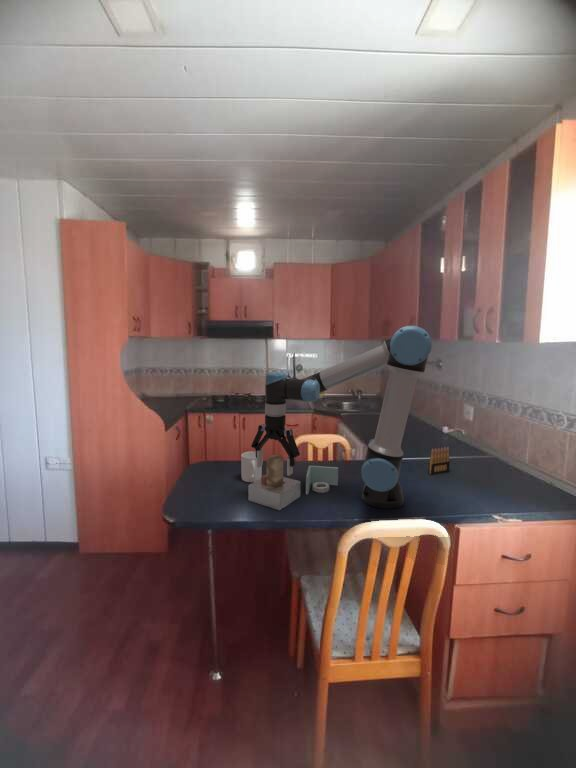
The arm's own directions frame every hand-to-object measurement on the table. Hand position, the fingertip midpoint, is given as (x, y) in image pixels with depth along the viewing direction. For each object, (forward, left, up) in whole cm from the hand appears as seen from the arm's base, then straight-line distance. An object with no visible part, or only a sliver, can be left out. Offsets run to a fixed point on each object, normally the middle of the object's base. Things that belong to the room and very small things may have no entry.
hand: (274, 470), depth 136 cm
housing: (0, 0, -11) cm, 11 cm away
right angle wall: (-11, -18, -11) cm, 24 cm away
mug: (+18, -9, -11) cm, 23 cm away
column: (0, 0, -11) cm, 11 cm away
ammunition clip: (-46, -64, -11) cm, 80 cm away
